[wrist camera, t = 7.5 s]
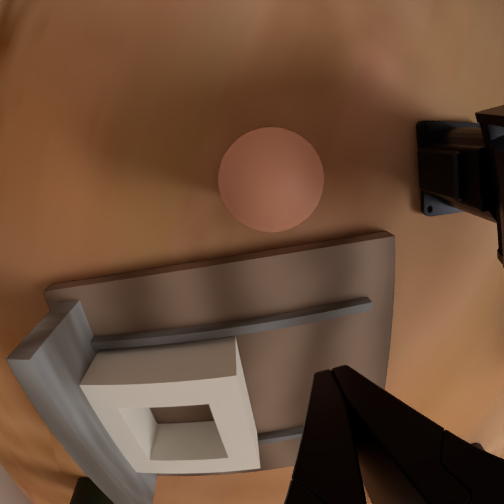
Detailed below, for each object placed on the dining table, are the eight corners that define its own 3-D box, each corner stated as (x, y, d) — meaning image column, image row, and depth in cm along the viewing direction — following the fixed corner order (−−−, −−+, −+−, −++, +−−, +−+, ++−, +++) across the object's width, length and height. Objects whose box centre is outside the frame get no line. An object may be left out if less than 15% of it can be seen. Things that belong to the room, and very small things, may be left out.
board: (386, 231, 20) (460, 277, 12) (370, 438, 27) (395, 498, 19) (50, 284, 20) (-13, 343, 12) (144, 466, 27) (133, 527, 19)
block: (235, 336, 20) (236, 375, 16) (256, 431, 23) (260, 468, 19) (98, 350, 20) (79, 385, 16) (144, 437, 23) (136, 472, 19)
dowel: (286, 132, 18) (317, 122, 11) (295, 197, 19) (329, 224, 12) (218, 141, 18) (210, 135, 11) (229, 207, 19) (227, 239, 12)
